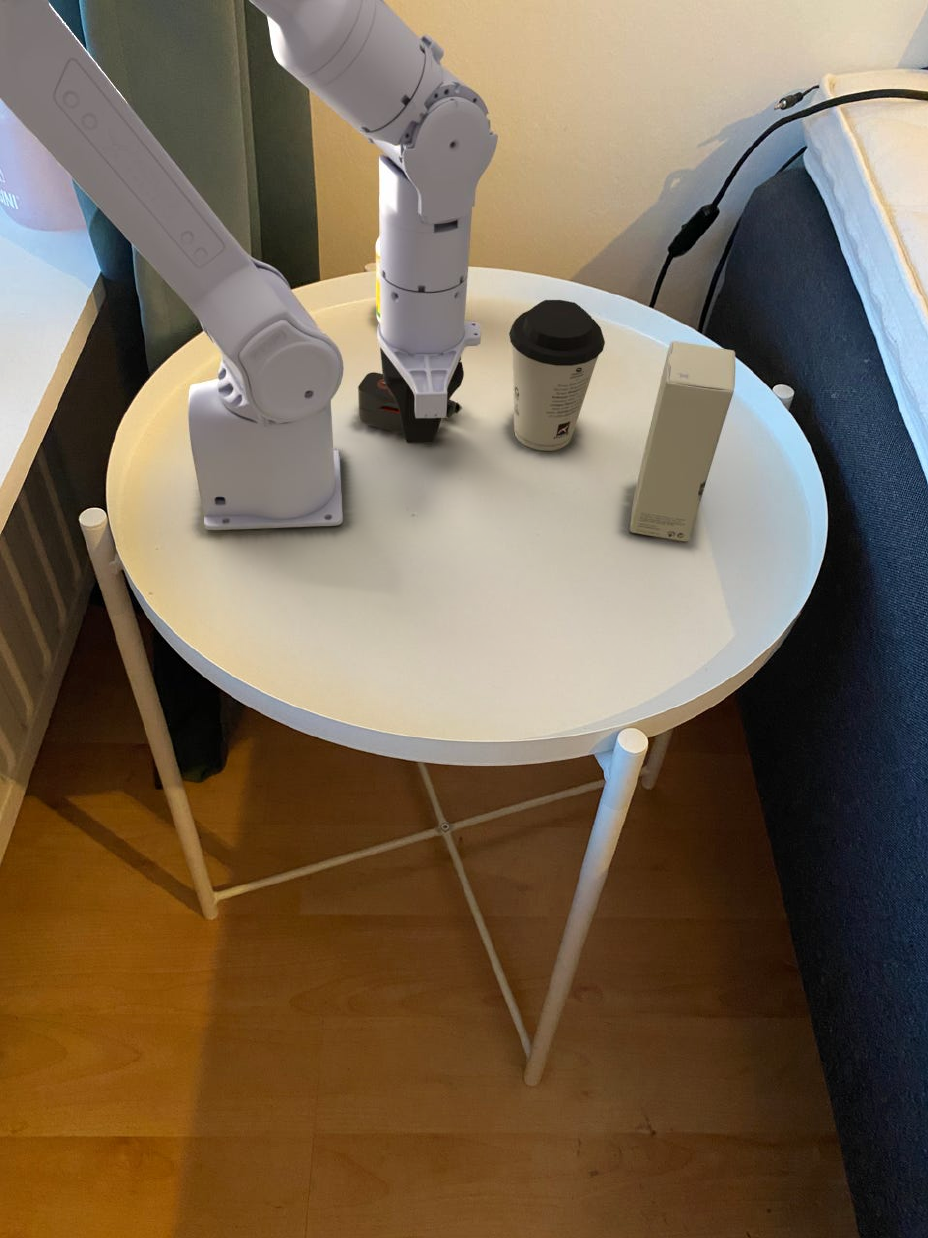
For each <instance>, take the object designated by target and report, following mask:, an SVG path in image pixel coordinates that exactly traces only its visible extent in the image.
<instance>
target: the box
mask: <svg viewBox="0 0 928 1238" xmlns="http://www.w3.org/2000/svg"><path fill="white" fill-rule="evenodd" d="M735 386H736V352H735V351H734V349H733V350H732V349H728V348H727V349H726V348H721V347H715V346H708V345H703V344H702V345H701V344H696V343H689V342H683V341H677V340H671V342H670V343H669V346H668V350H667V353H666V358H665V362H664V366H663V370H662V374H661V378H660V382H659V387H658V392H657V396H656V399H655V404H654V409H653V413H652V416H651V417H652V418H651V421H650V426H649V428H648V429H649V430H648V433H647V438H646V442H645V446H644V451H643V457H642V461H641V465H640V469H639V473H638V477H637V482H636V485H635V491H634V495H633V500H632V509H631V515H630V524H629V525H630V526H629V531H630V533H633V534H639V535H644V536H649V537H655V538H661V539H669V540H675V541H680V542H689V540H690V537H691V535H692V532H693V529H694V525H695V522H696V518H697V515H698V511H699V508H700V506H701V505H700V503H701V502H702V499H703V494H704V491H705V487H706V485H707V481H708V477H709V473H710V472H711V471H710V470H711V468H712V464H713V461H714V457H715V454H716V452H717V448H718V444H719V441H720V437H721V434H722V431H723V428H724V424H725V421H726V418H727V414H728V411H729V408H730V404H731V402H732V399H733V396H734V392H735Z"/></svg>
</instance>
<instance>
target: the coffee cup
mask: <svg viewBox="0 0 928 1238" xmlns="http://www.w3.org/2000/svg"><path fill="white" fill-rule="evenodd" d="M508 335H509V336H508V337H509V341H510V344H511V353H512V354H511V356H512V357H511V358H512V396H513V399H512V401H513V431H514V436H515V438H516V439H517V440H518V442H520V443H521V444H522V445H524V446H526V447H527V448H530V449H532V450H537V451H541V452H543V451H544V452H548V451H550V452H552V451H557V450H561V449H562V448H565V446H567V445H568V444H570V442H571V441H572V437H573V434H574V432H575V429H576V425H577V421H578V420H579V416H580V413H581V409H582V407H583V405H584V400H585V397H586V395H587V392H588V389H589V386H590V382H591V380H592V377H593V373H594V370H595V367H596V364H597V361H598V358H599V355H601V353H602V352H603V351H604V348H605V345H606V341H605V337H604V334H603V331H602V327H601V326H600V325H599V324H598V323H597V321H596V320H595V319H594V318H593V317H592V315H590V314H589V313H588V312H587V311H586V310H585V309H584V308H583V307H581V305H579V304H578V303H576V302H574V301H569V300H563V299H543V300H542V301H540V302H539V303H537V304H535V305H534V306H533V307H531V308H530V309H529V310H527V311H525V312H522V313H521V314H520V315H518V316H517V318H515V320H514V322H513V323H512V325H511V327H510V329H509V332H508Z"/></svg>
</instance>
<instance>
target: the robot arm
mask: <svg viewBox="0 0 928 1238" xmlns="http://www.w3.org/2000/svg"><path fill="white" fill-rule="evenodd" d="M248 1H249V2H250V3H251V4H253V5H254V6H255V7H256V8H258V10H259V11H261V12H262V13H263V14H264V15H266V18H267V22H268V23H267V24H268V28H269V37H270V44H271V45H270V46H271V49H272V53H273V56H274V58H275V60H276V61H277V63H278V64H279V66H281V67H282V68H283V69H284V70H285V71H287V72H288V73H289V74H290V75H292V76H293V77H294V78H295V79H296V80H297V81H299V82H300V83H301V84H302V85H303V86H305V88H306V89H308V90H309V91H310V92H312V93H313V94H314V95H315V96H316V97H317V98H318V99H320V100H321V101H322V102H323V103H324V104H325V105H327V106H328V107H329V108H330V109H331V110H332V111H333V112H335V113H336V114H337V115H338V116H339V117H341V119H343V120H344V121H345V122H346V123H348V124H349V125H350V126H351V127H352V128H353V129H354V130H355V131H357V132H358V133H359V134H360V135H361V136H363V137H365V139H366V140H367V142H368V143H370V144H375V145H376V146H377V147H378V148H379V150H381V151H382V152H383V153H384V154H380V155H379V156H378V184H379V188H378V189H379V194H378V195H379V196H378V204H379V205H378V214H379V215H378V217H379V218H378V220H379V223H378V225H379V226H378V227H379V230H378V231H379V232H378V233H379V236H380V322H379V321H378V325H377V330H376V331H377V343H378V346H379V351H380V362H381V372H382V373H381V374H383V378H384V381H385V383H386V386H387V387H388V389H389V390H390V391H391V393H392V394H393V396H394V398H395V400H396V403H397V406H398V409H399V414H400V419H401V424H402V429H403V433H404V434H403V433H402V434H403V437H404V439H405V442H406V443H407V444H429V443H433V442H434V441H435V439H436V437H437V434H438V432H439V430H438V428H439V425H440V422H441V418H443V419H444V418H447V417H446V410H447V403H448V401H449V399H450V400H451V398H452V397H453V395H454V394H455V392H456V391H457V390H458V389H459V388H460V387H461V386H462V383H463V380H464V376H465V372H464V367H463V362H462V355H463V353H464V351H465V349H466V348H468V347H477V346H479V345H481V342H482V330H481V326H480V324H479V323H478V322H477V321H471V320H469V321H467V320H466V311H467V310H466V309H467V308H466V307H467V293H468V292H467V291H468V277H469V276H468V275H469V266H470V265H469V263H470V248H471V232H472V218H473V217H472V215H473V208H474V207H475V205H476V191H477V186H478V184H479V181H480V179H481V178H482V177H483V175H484V174H485V172H486V171H487V169H488V167H489V166H490V164H491V162H492V160H493V158H494V155H495V151H496V149H497V145H498V139H499V138H498V137H499V136H498V134H497V133H494V131H493V130H492V129H491V119H490V118H488V117H487V116H488V114H489V109H488V107H487V105H486V103H485V101H484V99H483V98H482V96H480V95H479V94H478V93H477V92H476V91H475V90H474V89H472V88H471V87H470V86H468V85H467V84H466V83H464V82H463V81H462V80H460V78H458V77H457V76H455V75H454V74H453V73H452V72H450V71H449V70H448V69H447V68H446V67H444V66H443V65H442V63H441V60H442V59H443V57H444V54H445V51H444V49H443V47H441V46H440V45H439V43H438V42H436V40H435V39H433V38H432V37H431V36H429V35H428V34H422V35H421V37H419V36H418V35H417V34H416V33H415V32H414V31H413V30H412V29H411V28H410V26H409V25H408V24H407V23H406V22H405V21H404V20H402V18H401V17H400V16H399V15H398V14H397V13H396V12H395V11H394V10H393V9H392V8H391V7H390V6H389V5H388V4H387V3H386V2H385V0H248ZM0 101H1V102H2V104H4V105H5V107H7V108H8V109H9V110H10V112H11V113H12V114H13V115H14V116H15V117H16V119H18V121H19V122H20V123H21V124H22V125H23V126H24V127H25V128H26V129H27V131H28V132H30V134H31V135H32V136H33V137H34V138H35V139H36V141H38V143H40V145H41V146H42V147H43V148H44V149H45V150H46V151H47V152H48V153H49V155H50V156H51V157H52V158H53V159H54V160H55V161H56V162H57V163H58V165H59V166H60V167H61V168H62V169H63V170H64V171H65V172H66V173H67V174H68V175H69V177H70V178H71V179H72V180H73V181H74V182H75V183H76V184H77V185H78V186H79V188H80V189H81V191H83V192H84V193H85V194H86V195H87V196H88V197H89V199H90V200H91V201H92V202H93V203H94V204H95V205H96V207H98V209H99V210H100V211H101V212H102V213H103V214H104V216H106V218H108V219H109V221H110V222H111V223H112V224H113V225H114V227H116V228H117V229H118V231H120V232H121V234H122V235H123V236H124V237H125V238H126V239H127V240H128V242H129V243H130V244H131V245H132V246H133V247H134V248H135V249H136V250H137V251H138V252H139V254H141V256H142V257H143V258H144V259H145V260H146V261H147V263H149V264H150V266H151V267H152V268H153V269H154V270H155V271H156V272H157V274H158V275H159V276H160V277H161V278H162V279H163V280H164V281H165V282H166V283H167V284H168V286H169V287H170V288H171V289H172V290H173V291H174V292H175V293H176V294H177V296H178V297H180V299H181V300H182V301H183V302H184V303H185V304H186V305H187V306H188V307H189V309H190V310H191V311H192V313H193V314H194V316H195V317H196V318H197V319H198V320H199V323H200V325H201V326H200V327H201V328H202V330H203V332H204V333H205V335H206V336H207V338H208V339H209V340H210V341H211V342H212V344H214V345H215V347H216V349H217V350H218V352H219V353H220V355H221V360H220V364H219V368H218V372H217V373H218V374H217V378H215V379H212V380H207V381H204V382H198V383H192V384H191V385H190V387H189V391H188V408H187V409H188V411H187V413H188V417H187V418H188V430H189V441H190V447H191V448H190V449H191V454H192V459H193V465H194V470H195V474H196V480H197V485H198V490H199V491H198V492H199V495H200V500H201V505H202V511H203V524H204V528H205V530H208V531H226V530H228V531H229V530H255V529H279V528H280V529H283V528H304V527H306V528H308V527H309V528H311V527H333V526H334V527H335V526H340V525H341V524H342V523H343V521H344V516H343V496H342V494H343V493H342V479H341V478H342V477H341V457H340V451H339V450H338V449H336V448H334V435H333V416H332V415H333V414H332V399H334V397H335V396H336V394H337V392H338V390H339V389H340V386H341V384H342V381H343V377H344V369H345V367H344V360H343V356H342V353H341V351H340V349H339V347H338V346H337V344H336V342H335V341H333V340H332V338H330V336H328V335H327V333H325V332H324V331H323V330H322V329H321V328H320V326H319V325H318V323H317V322H316V321H315V319H314V318H313V317H312V315H311V314H310V313H309V312H308V311H307V309H306V308H305V306H304V305H303V303H301V301H300V300H299V299H298V297H297V296H296V295H295V293H294V292H293V291H292V289H291V286H290V284H289V282H288V281H287V279H286V278H285V277H284V275H283V274H282V272H280V271H279V269H277V268H275V267H274V266H272V265H270V264H268V263H265V262H263V261H261V260H258V259H256V258H254V257H252V256H251V255H250V254H249V253H248V252H247V251H246V250H245V249H244V248H243V247H242V246H241V245H240V242H238V240H237V239H236V238H235V237H234V236H233V235H232V233H231V232H230V231H229V230H228V229H227V227H226V226H225V225H224V223H222V221H221V219H220V218H219V217H218V216H217V215H216V213H215V212H214V210H212V208H211V207H210V205H208V203H207V202H206V201H205V199H204V198H203V197H202V196H201V194H200V193H199V192H198V190H197V189H196V188H195V187H194V185H193V184H192V183H191V181H189V179H188V178H187V177H186V175H185V174H184V173H183V171H182V170H181V169H180V168H179V167H178V165H177V164H176V163H175V162H174V160H173V158H172V157H171V156H170V155H169V153H167V151H166V150H165V148H164V147H163V146H162V144H161V143H160V142H159V141H158V140H157V138H156V137H155V135H153V133H152V131H150V130H149V128H148V127H147V126H146V123H144V121H143V120H142V119H141V118H140V116H139V115H138V114H137V112H136V111H135V110H134V109H133V108H132V106H131V105H130V104H129V102H128V101H127V99H125V98H124V96H123V95H122V94H121V92H120V91H119V90H118V89H117V87H116V86H115V85H114V84H113V82H112V81H111V80H110V78H109V77H108V76H107V75H106V73H105V72H104V71H103V69H102V68H101V66H99V65H98V63H97V62H96V60H94V58H93V57H92V56H91V54H90V53H89V52H88V50H87V49H86V48H85V46H84V45H83V44H82V43H81V41H80V40H79V39H78V38H77V36H76V35H75V34H74V33H73V31H72V30H71V29H70V27H69V26H68V25H67V24H66V22H65V21H64V20H63V19H62V17H61V16H60V14H59V13H58V12H57V11H56V10H55V8H54V7H53V5H51V3H50V1H49V0H0ZM437 431H438V432H437Z"/></svg>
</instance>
